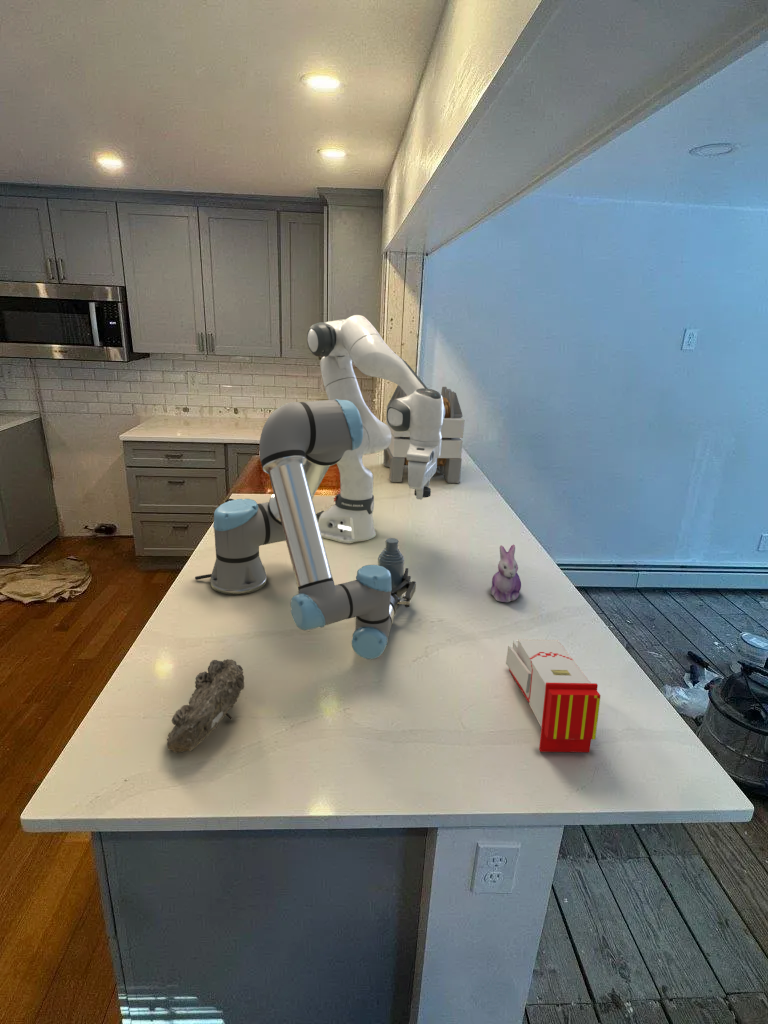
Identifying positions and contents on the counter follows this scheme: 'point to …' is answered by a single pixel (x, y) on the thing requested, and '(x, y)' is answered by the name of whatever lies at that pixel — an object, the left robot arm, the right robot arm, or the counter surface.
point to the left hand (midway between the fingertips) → (392, 571)
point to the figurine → (506, 577)
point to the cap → (425, 492)
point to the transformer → (449, 446)
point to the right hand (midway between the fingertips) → (422, 495)
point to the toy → (556, 694)
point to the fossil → (206, 705)
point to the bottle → (393, 562)
